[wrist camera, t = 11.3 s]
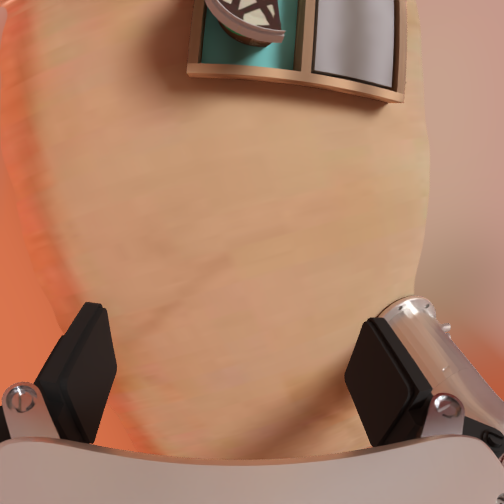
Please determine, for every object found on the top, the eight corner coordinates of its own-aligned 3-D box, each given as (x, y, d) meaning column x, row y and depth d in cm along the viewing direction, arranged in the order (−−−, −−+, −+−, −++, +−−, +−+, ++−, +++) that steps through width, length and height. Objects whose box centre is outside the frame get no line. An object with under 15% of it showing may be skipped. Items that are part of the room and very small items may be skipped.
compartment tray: (391, -15, 25) (408, -25, 21) (388, 102, 32) (407, 102, 28) (205, -49, 22) (204, -66, 18) (189, 77, 29) (185, 71, 25)
